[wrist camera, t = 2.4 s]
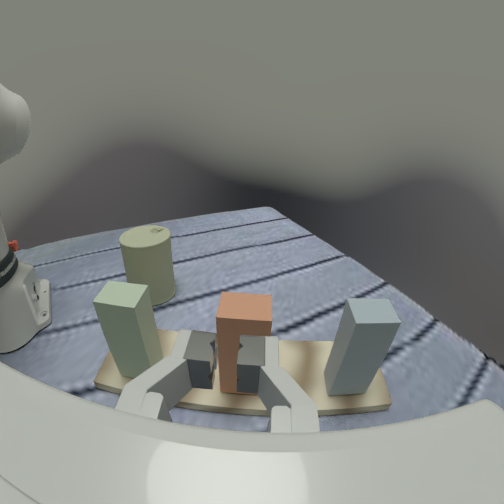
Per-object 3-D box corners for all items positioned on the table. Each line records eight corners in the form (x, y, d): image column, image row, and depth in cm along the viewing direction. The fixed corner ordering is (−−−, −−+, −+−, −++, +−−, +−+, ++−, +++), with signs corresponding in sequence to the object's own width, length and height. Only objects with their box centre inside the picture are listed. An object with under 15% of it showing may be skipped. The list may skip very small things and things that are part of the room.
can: (186, 289, 52) (181, 230, 46) (149, 313, 45) (138, 250, 39) (155, 273, 56) (148, 219, 51) (120, 292, 49) (108, 235, 44)
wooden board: (97, 388, 29) (92, 379, 29) (126, 330, 40) (124, 321, 39) (387, 409, 29) (393, 401, 28) (367, 347, 39) (371, 338, 38)
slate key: (327, 395, 30) (356, 323, 24) (323, 371, 33) (347, 298, 28) (365, 393, 30) (400, 322, 24) (358, 369, 33) (388, 299, 28)
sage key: (120, 375, 30) (92, 301, 25) (130, 353, 34) (109, 280, 28) (156, 382, 30) (134, 308, 25) (164, 359, 34) (148, 285, 28)
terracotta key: (220, 391, 30) (216, 317, 25) (224, 367, 34) (222, 291, 28) (262, 394, 30) (272, 321, 24) (263, 369, 34) (271, 295, 28)
